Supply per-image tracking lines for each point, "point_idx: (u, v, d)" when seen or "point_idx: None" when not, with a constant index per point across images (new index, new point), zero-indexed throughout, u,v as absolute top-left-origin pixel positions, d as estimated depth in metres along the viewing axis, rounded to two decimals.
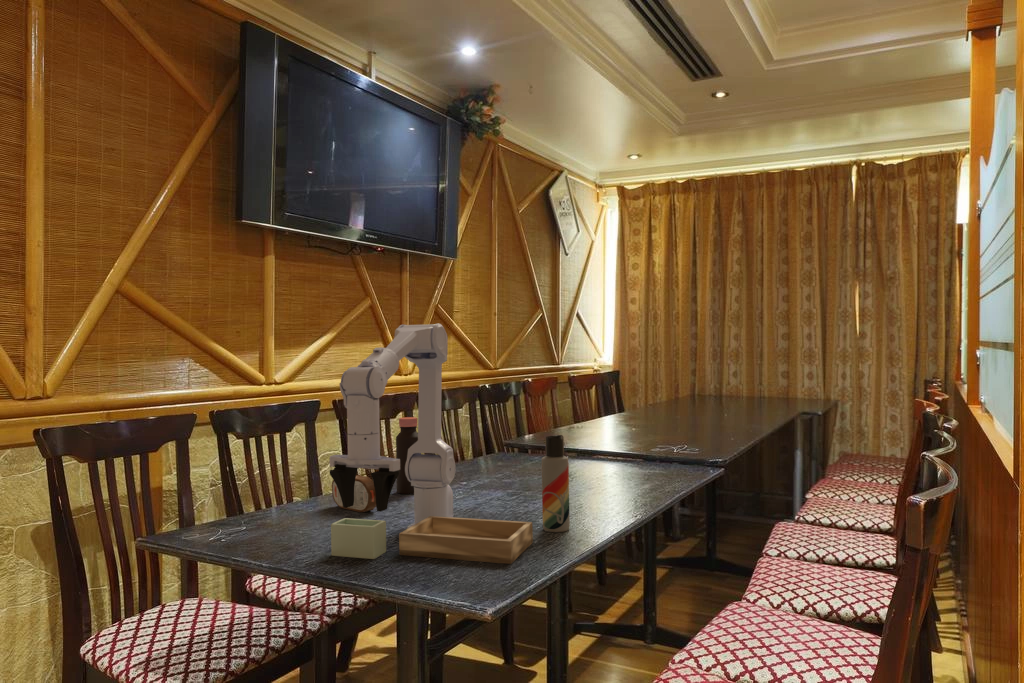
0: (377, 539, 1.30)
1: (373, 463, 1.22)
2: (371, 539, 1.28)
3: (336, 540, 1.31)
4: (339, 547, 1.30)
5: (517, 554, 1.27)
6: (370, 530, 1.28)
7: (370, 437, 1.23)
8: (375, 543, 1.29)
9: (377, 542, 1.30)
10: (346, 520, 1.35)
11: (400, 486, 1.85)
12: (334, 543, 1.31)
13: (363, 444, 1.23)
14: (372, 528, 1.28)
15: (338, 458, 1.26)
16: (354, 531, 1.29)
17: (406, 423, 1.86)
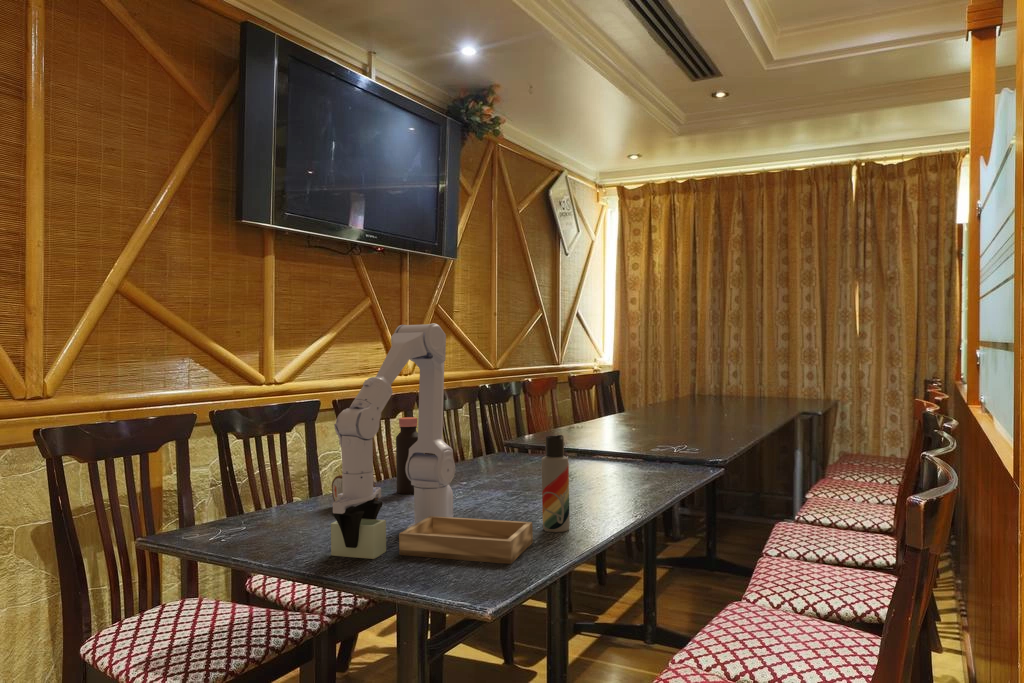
0: (377, 538, 1.30)
1: None
2: (371, 538, 1.28)
3: (336, 539, 1.31)
4: (339, 546, 1.30)
5: (517, 554, 1.27)
6: (370, 529, 1.28)
7: (344, 476, 1.30)
8: (375, 542, 1.29)
9: (377, 541, 1.30)
10: None
11: (400, 486, 1.85)
12: (334, 542, 1.31)
13: None
14: (372, 527, 1.28)
15: None
16: None
17: (406, 423, 1.86)
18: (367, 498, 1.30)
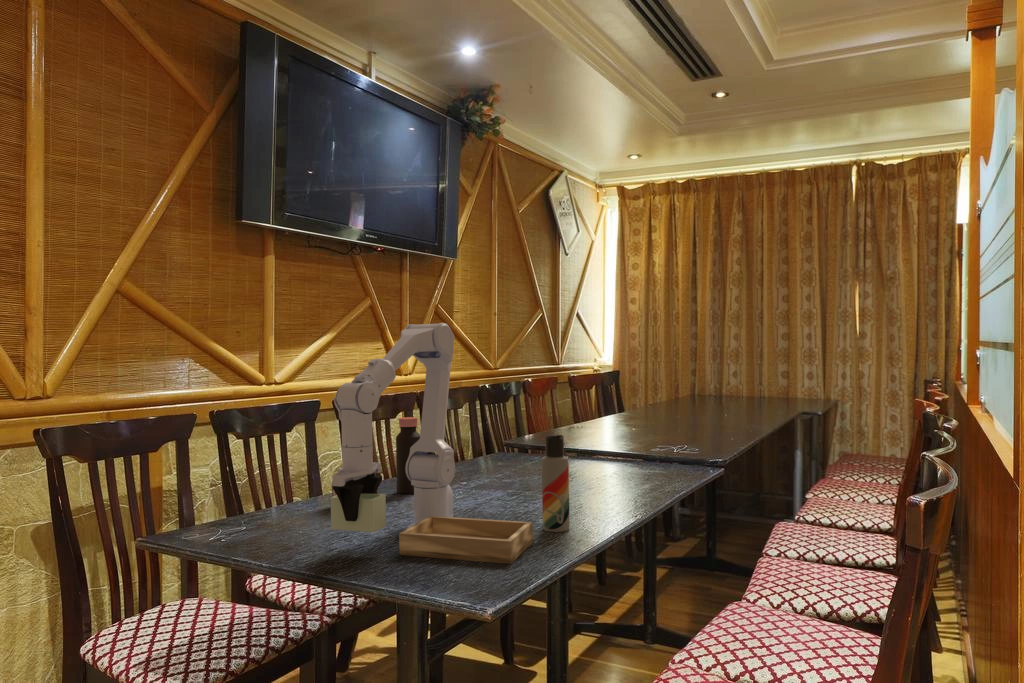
0: (377, 512, 1.30)
1: None
2: (371, 512, 1.28)
3: (336, 513, 1.31)
4: (339, 520, 1.30)
5: (517, 554, 1.27)
6: (369, 503, 1.28)
7: (344, 450, 1.30)
8: (375, 516, 1.29)
9: (377, 515, 1.30)
10: None
11: (400, 486, 1.85)
12: (334, 516, 1.31)
13: (342, 455, 1.31)
14: (372, 501, 1.28)
15: None
16: None
17: (406, 423, 1.86)
18: (367, 472, 1.30)
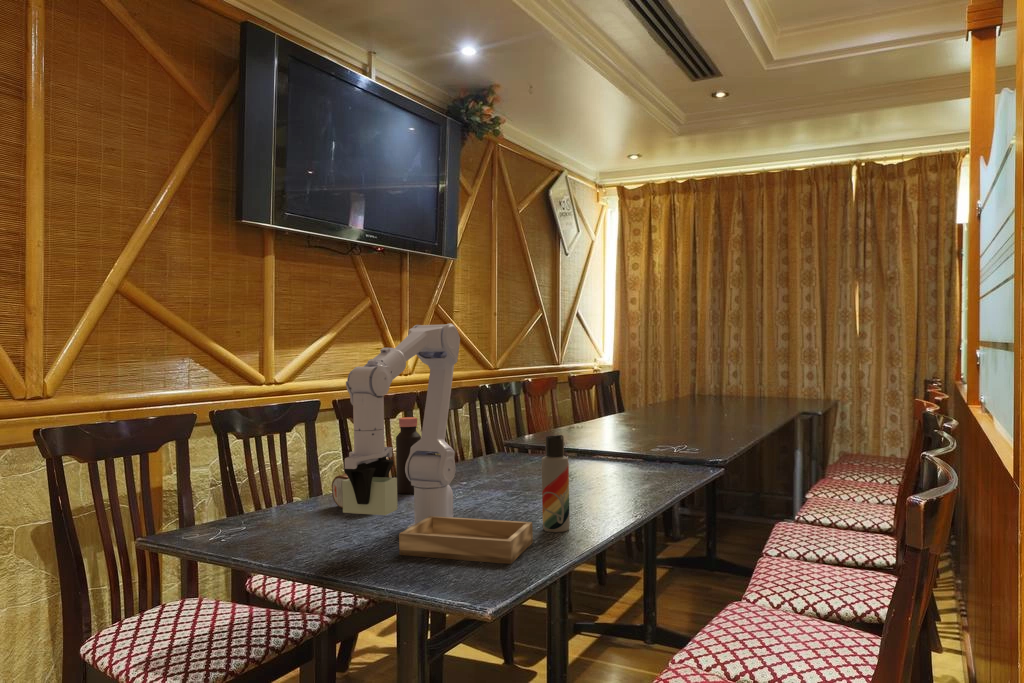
0: (388, 495, 1.30)
1: None
2: (382, 495, 1.29)
3: (347, 497, 1.31)
4: (350, 503, 1.31)
5: (517, 554, 1.27)
6: (381, 486, 1.29)
7: (356, 433, 1.30)
8: (386, 499, 1.29)
9: (388, 498, 1.30)
10: None
11: (400, 486, 1.85)
12: (345, 500, 1.31)
13: None
14: (383, 484, 1.29)
15: None
16: None
17: (406, 423, 1.86)
18: (378, 455, 1.30)
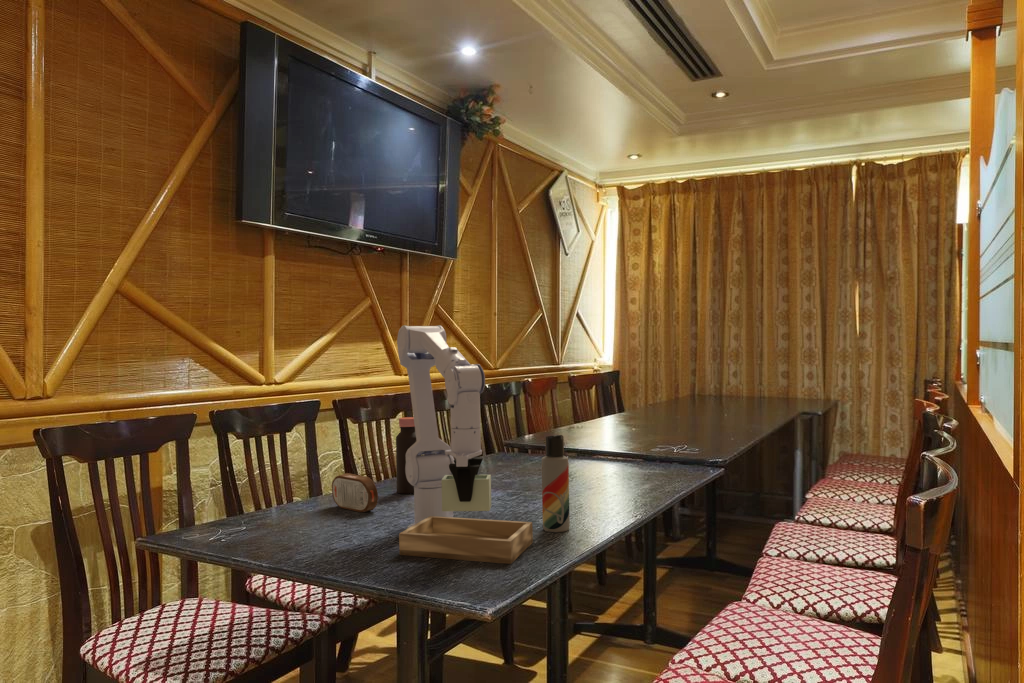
0: (489, 491, 1.33)
1: (453, 456, 1.30)
2: (486, 491, 1.31)
3: (447, 495, 1.32)
4: (451, 502, 1.31)
5: (517, 554, 1.27)
6: (485, 483, 1.31)
7: (457, 431, 1.31)
8: (489, 495, 1.32)
9: (489, 494, 1.33)
10: (448, 476, 1.36)
11: (400, 486, 1.85)
12: (445, 498, 1.32)
13: (452, 437, 1.32)
14: (487, 480, 1.31)
15: None
16: None
17: (406, 423, 1.86)
18: (479, 452, 1.32)
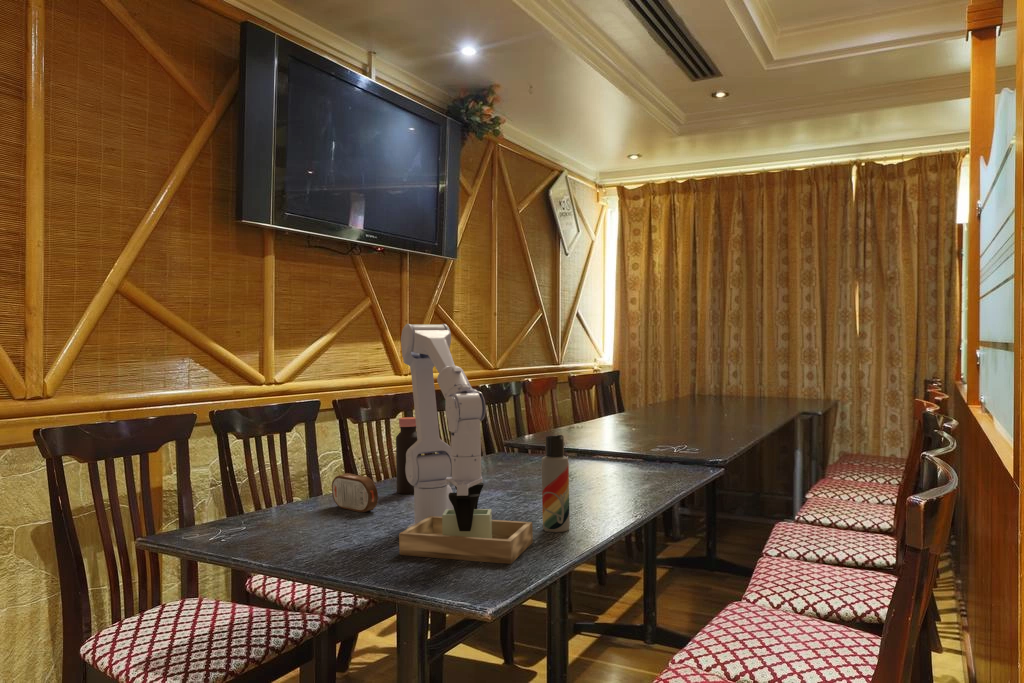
0: (490, 527, 1.33)
1: (454, 484, 1.30)
2: (487, 527, 1.31)
3: (448, 531, 1.31)
4: None
5: (517, 554, 1.27)
6: (486, 518, 1.31)
7: (457, 459, 1.31)
8: (490, 531, 1.32)
9: (490, 530, 1.33)
10: (449, 511, 1.36)
11: (400, 486, 1.85)
12: (446, 534, 1.32)
13: (453, 465, 1.32)
14: (488, 516, 1.31)
15: None
16: None
17: (406, 423, 1.86)
18: (480, 480, 1.32)
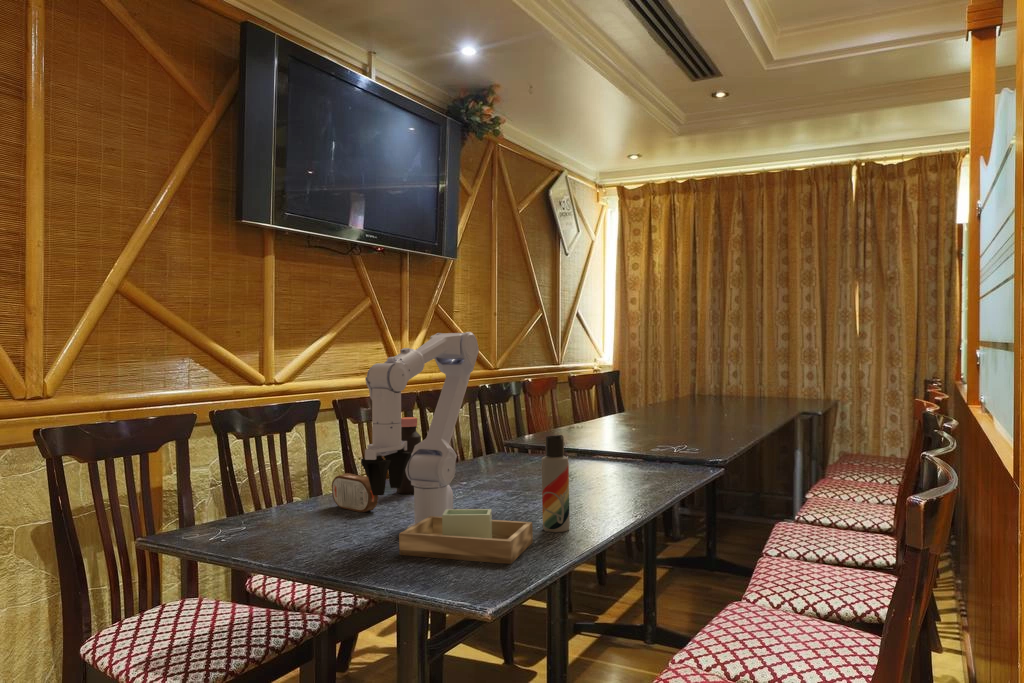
0: (490, 527, 1.33)
1: None
2: (487, 527, 1.31)
3: (448, 531, 1.31)
4: None
5: (517, 554, 1.27)
6: (486, 518, 1.31)
7: (375, 426, 1.37)
8: (490, 531, 1.32)
9: (490, 530, 1.33)
10: (449, 511, 1.36)
11: None
12: (446, 534, 1.32)
13: (372, 432, 1.38)
14: (488, 516, 1.31)
15: None
16: (468, 520, 1.31)
17: (406, 423, 1.86)
18: (396, 447, 1.37)
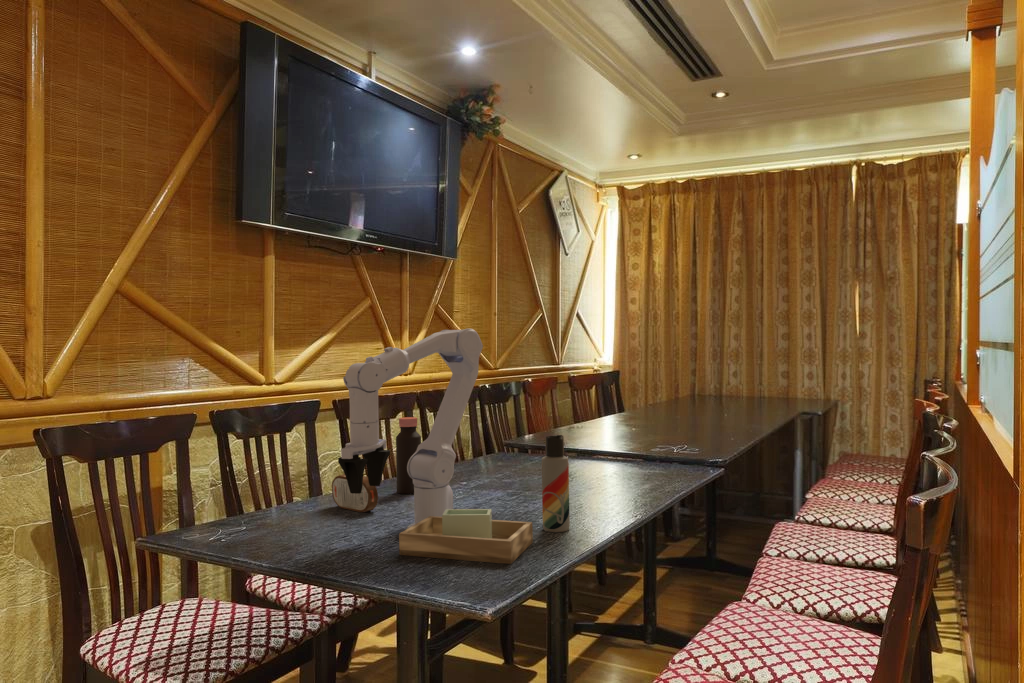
0: (490, 527, 1.33)
1: None
2: (487, 527, 1.31)
3: (448, 531, 1.31)
4: None
5: (517, 554, 1.27)
6: (486, 518, 1.31)
7: (352, 425, 1.39)
8: (490, 531, 1.32)
9: (490, 530, 1.33)
10: (449, 511, 1.36)
11: (400, 486, 1.85)
12: (446, 534, 1.32)
13: (350, 431, 1.40)
14: (488, 516, 1.31)
15: None
16: (468, 520, 1.31)
17: (406, 423, 1.86)
18: (373, 446, 1.38)
